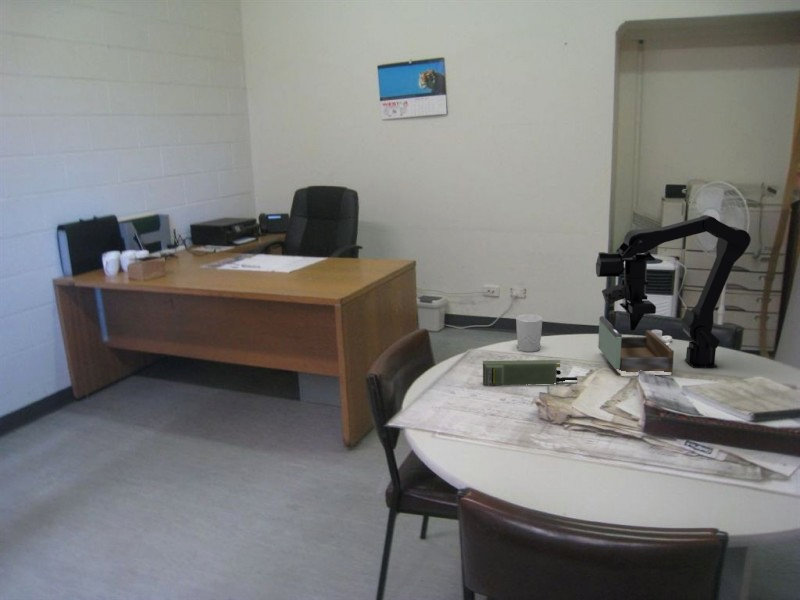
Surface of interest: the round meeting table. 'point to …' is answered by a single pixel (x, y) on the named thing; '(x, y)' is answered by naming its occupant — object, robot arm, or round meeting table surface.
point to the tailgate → (609, 342)
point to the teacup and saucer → (663, 338)
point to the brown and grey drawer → (645, 354)
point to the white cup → (529, 332)
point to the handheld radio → (522, 372)
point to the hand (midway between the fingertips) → (632, 330)
